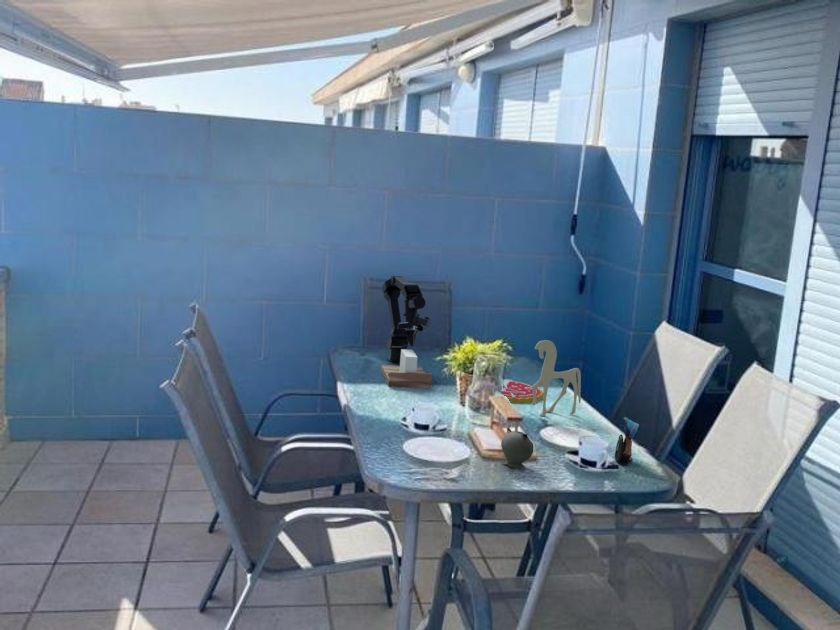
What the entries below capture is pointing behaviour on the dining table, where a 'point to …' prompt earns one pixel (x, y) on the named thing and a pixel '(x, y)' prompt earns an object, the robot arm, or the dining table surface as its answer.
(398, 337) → the robot arm
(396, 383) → the trap deck
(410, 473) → the dining table surface
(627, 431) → the figurine
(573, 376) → the sculpture
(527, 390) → the decorative sign
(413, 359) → the light gray block
